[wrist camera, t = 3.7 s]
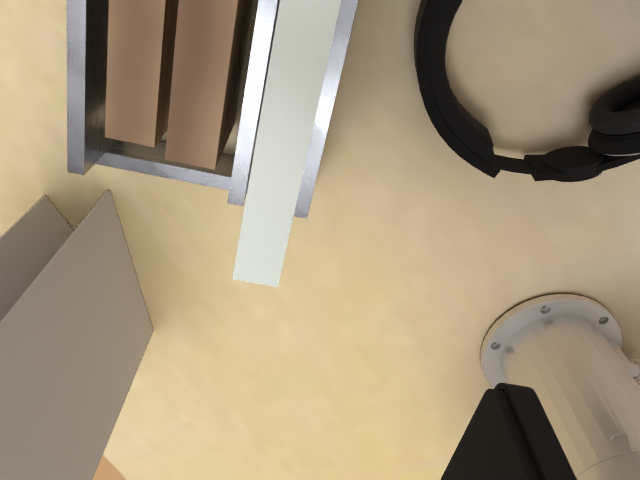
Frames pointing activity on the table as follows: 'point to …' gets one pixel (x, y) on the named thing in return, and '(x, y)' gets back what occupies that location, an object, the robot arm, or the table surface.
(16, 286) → the brochure
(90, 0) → the rack
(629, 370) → the robot arm
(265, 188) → the pale grey panel
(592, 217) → the table surface
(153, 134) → the offcut short
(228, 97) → the offcut tall
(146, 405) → the table surface
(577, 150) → the headphones
